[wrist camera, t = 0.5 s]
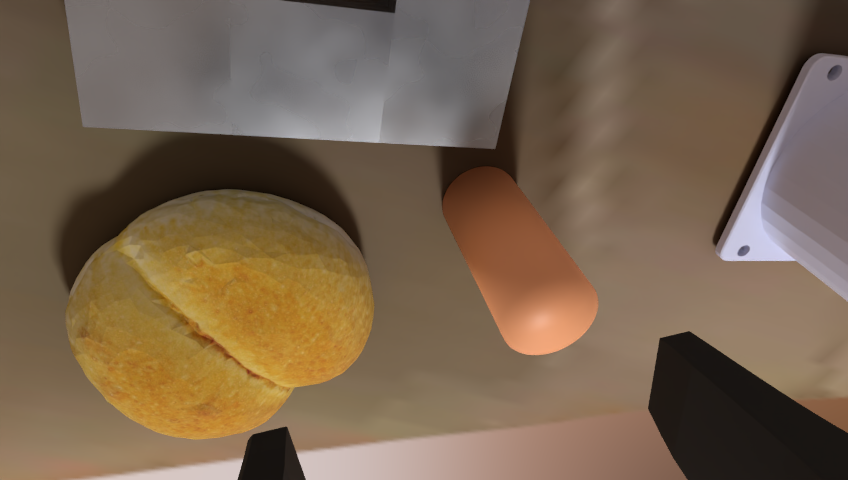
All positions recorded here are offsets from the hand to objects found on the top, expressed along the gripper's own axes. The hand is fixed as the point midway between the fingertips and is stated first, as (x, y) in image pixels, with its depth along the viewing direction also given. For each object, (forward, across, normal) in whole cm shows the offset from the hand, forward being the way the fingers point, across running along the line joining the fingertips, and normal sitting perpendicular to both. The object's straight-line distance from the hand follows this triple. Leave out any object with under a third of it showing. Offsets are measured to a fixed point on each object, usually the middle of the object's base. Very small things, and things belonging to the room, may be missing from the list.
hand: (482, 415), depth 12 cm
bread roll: (+10, +6, +3) cm, 12 cm away
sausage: (+9, -3, +1) cm, 10 cm away
